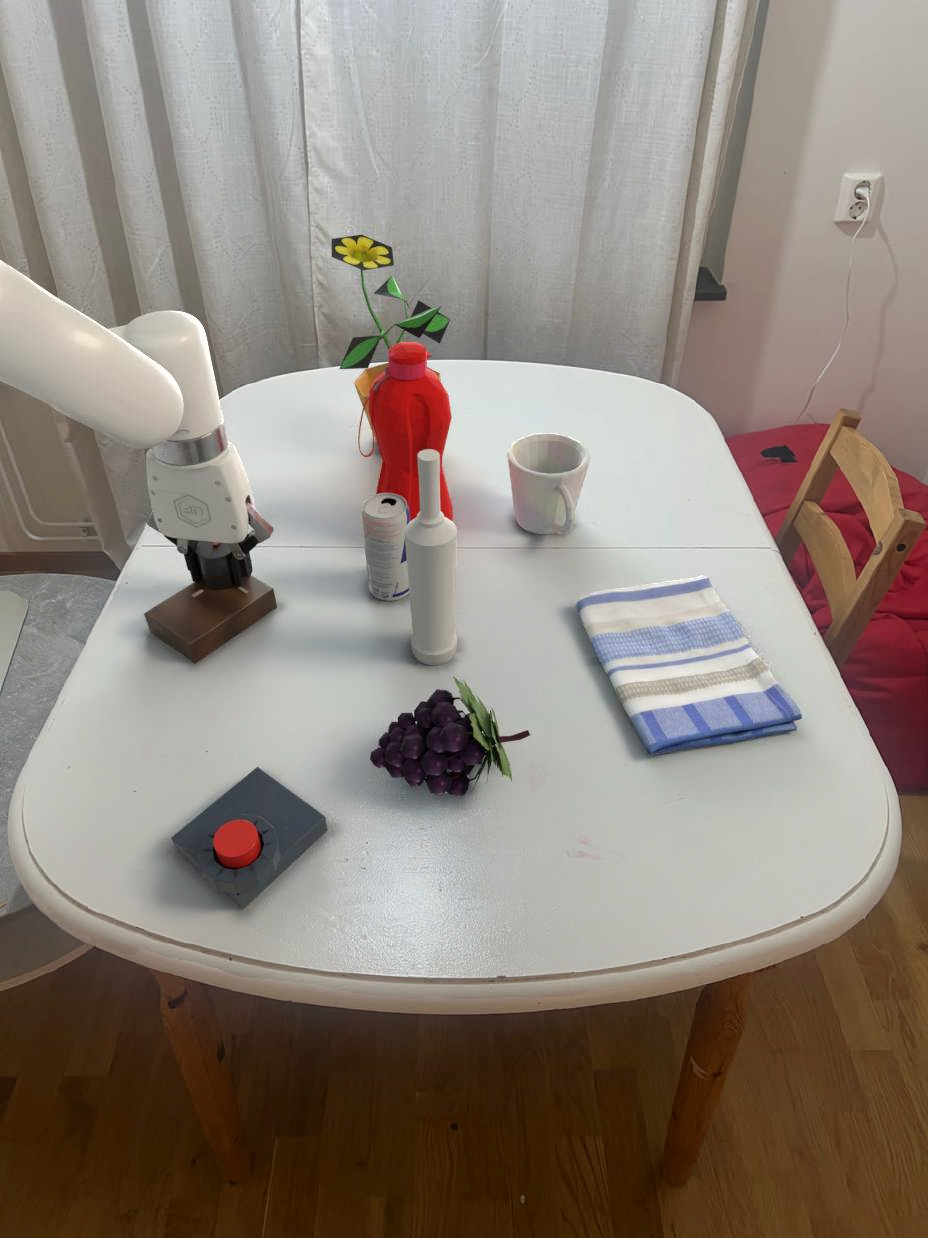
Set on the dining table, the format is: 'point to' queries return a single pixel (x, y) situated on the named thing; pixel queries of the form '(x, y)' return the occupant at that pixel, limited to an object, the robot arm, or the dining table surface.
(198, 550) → the dial
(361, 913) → the dining table surface
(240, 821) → the plunger
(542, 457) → the mug
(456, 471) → the dining table surface
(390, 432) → the water bottle
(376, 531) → the energy drink
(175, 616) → the console
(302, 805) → the button box
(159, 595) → the dining table surface
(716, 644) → the dish towel
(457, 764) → the fruit
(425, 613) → the bottle
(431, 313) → the potted plant
